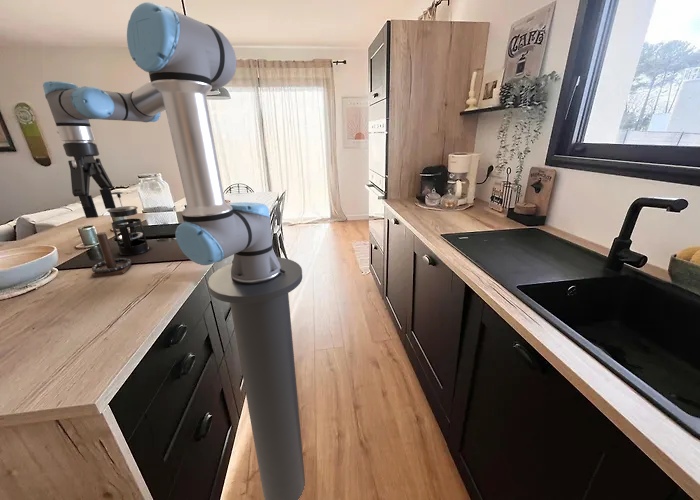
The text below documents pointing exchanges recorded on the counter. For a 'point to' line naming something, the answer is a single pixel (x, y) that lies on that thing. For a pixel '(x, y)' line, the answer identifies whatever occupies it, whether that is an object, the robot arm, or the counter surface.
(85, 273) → the counter surface
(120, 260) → the ring
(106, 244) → the holder
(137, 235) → the french press
